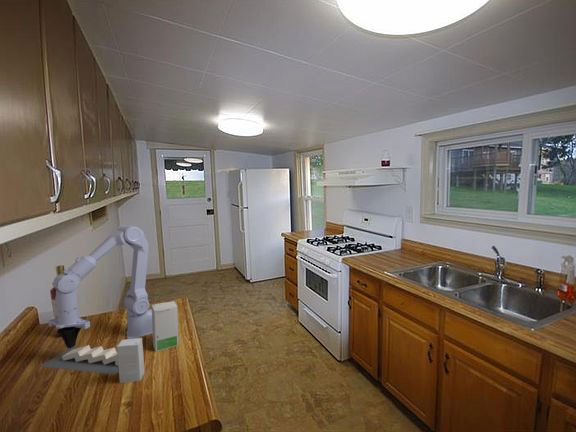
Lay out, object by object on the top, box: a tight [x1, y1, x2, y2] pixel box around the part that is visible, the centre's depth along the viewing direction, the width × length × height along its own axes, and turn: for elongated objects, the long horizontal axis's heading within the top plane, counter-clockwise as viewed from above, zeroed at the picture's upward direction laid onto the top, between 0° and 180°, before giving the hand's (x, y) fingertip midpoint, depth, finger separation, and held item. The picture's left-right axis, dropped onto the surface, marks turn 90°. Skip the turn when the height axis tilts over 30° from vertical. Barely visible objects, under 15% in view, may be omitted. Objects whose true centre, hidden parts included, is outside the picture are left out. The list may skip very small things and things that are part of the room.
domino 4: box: [102, 350, 118, 365], centre depth 98 cm, size 2×4×7 cm
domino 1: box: [62, 344, 91, 361], centre depth 100 cm, size 2×4×7 cm
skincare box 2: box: [151, 301, 180, 352], centre depth 108 cm, size 8×7×16 cm
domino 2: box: [75, 345, 104, 362], centre depth 99 cm, size 2×4×7 cm
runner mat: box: [40, 346, 119, 375], centre depth 99 cm, size 28×12×1 cm, turn 80°
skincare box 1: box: [116, 337, 146, 384], centre depth 89 cm, size 6×4×12 cm
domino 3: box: [88, 346, 117, 363], centre depth 99 cm, size 2×4×7 cm
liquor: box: [49, 265, 65, 337], centre depth 117 cm, size 7×7×28 cm
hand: (71, 346), depth 100 cm, fingers closed
